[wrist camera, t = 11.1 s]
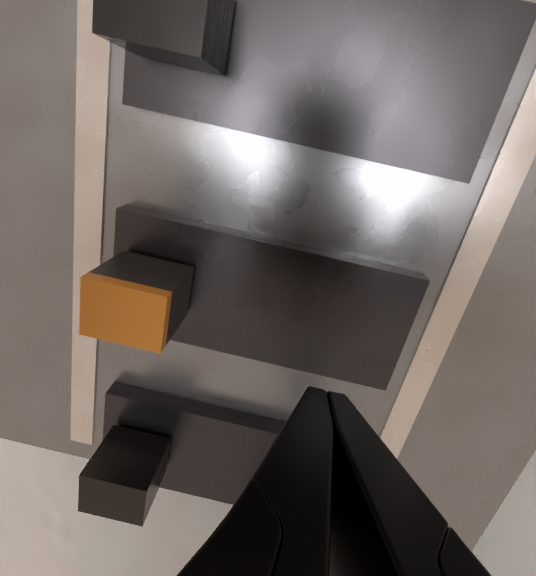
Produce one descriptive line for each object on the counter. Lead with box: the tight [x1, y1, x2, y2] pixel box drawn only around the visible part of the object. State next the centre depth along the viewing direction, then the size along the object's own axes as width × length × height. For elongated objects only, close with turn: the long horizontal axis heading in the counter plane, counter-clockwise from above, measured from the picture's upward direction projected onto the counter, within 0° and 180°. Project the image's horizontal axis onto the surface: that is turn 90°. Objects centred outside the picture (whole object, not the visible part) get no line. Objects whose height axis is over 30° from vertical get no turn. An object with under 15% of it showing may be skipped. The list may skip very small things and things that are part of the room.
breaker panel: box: [0, 0, 536, 550], centre depth 13 cm, size 20×24×5 cm
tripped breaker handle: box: [79, 251, 194, 354], centre depth 12 cm, size 2×2×3 cm
